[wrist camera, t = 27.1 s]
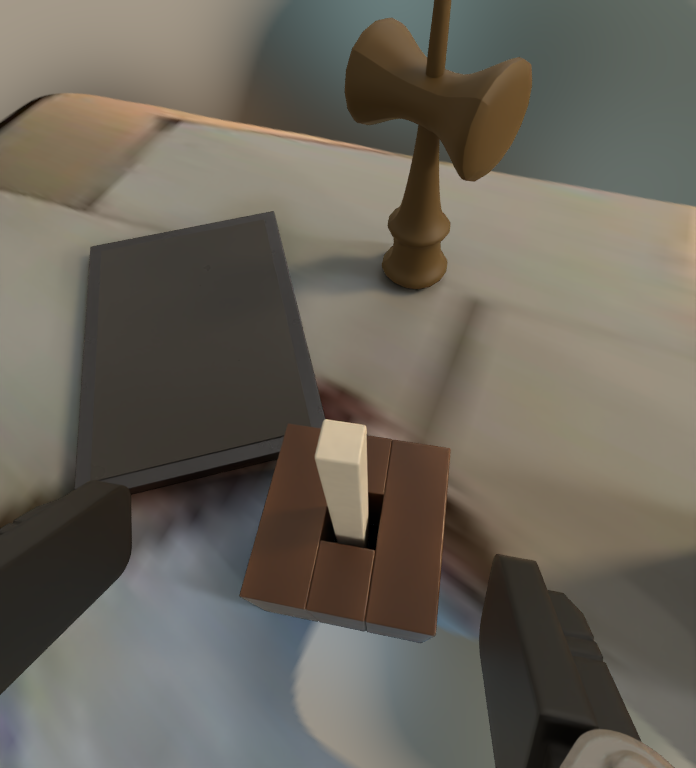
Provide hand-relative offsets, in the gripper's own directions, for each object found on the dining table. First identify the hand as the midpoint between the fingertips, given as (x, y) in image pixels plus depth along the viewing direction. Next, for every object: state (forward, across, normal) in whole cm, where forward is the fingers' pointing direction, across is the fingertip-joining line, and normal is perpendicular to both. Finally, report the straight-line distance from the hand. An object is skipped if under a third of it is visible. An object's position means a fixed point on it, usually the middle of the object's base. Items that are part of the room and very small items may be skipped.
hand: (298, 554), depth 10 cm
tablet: (+25, +15, 0) cm, 29 cm away
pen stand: (+15, 0, +10) cm, 18 cm away
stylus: (+15, 0, +10) cm, 18 cm away
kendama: (+31, -1, -6) cm, 32 cm away
